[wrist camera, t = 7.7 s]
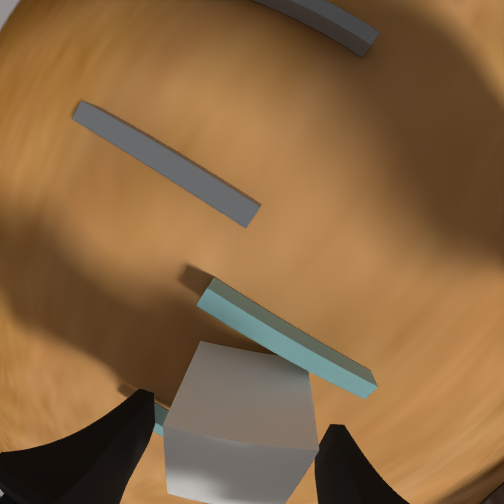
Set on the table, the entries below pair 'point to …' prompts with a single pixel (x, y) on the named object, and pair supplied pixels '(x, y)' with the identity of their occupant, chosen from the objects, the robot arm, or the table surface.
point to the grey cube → (239, 428)
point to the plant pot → (495, 496)
